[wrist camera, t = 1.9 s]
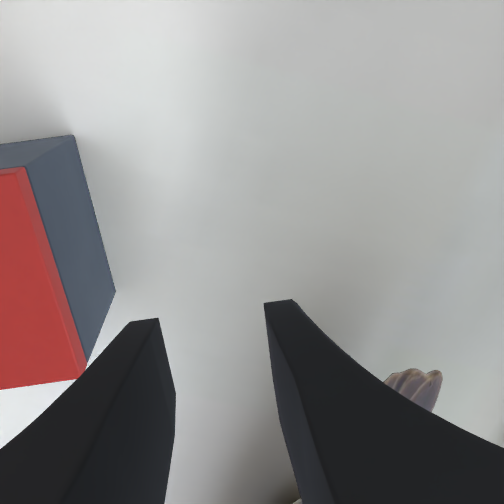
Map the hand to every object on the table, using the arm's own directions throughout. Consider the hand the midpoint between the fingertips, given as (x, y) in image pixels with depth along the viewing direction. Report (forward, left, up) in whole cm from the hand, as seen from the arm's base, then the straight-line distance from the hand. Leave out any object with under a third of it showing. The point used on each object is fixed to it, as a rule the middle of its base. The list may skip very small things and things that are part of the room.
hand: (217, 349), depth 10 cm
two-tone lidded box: (0, +8, -10) cm, 13 cm away
